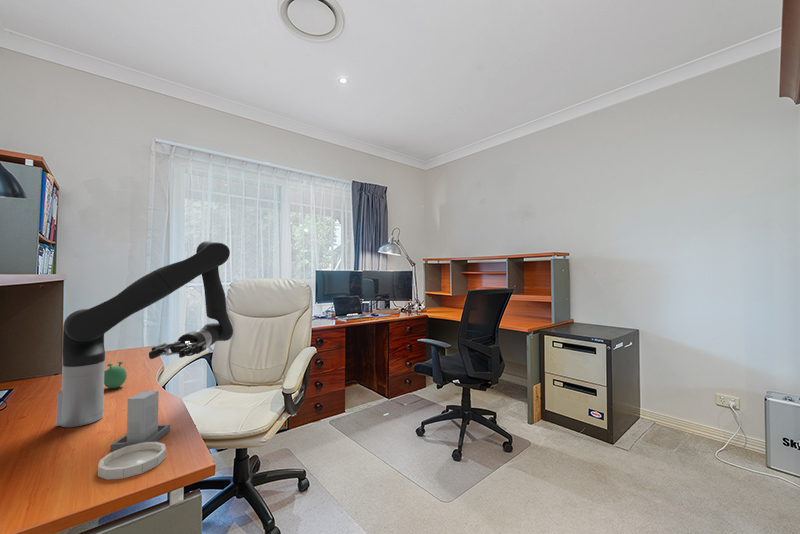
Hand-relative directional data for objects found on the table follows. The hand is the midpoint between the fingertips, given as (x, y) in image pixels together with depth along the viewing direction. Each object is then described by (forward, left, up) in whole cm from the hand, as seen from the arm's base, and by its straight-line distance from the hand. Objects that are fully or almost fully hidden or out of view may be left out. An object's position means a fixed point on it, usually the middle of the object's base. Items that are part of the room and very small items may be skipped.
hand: (165, 355), depth 99 cm
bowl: (+5, -23, -20) cm, 31 cm away
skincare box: (0, -11, -20) cm, 23 cm away
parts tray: (0, -11, -20) cm, 23 cm away
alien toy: (-37, +36, -20) cm, 55 cm away
